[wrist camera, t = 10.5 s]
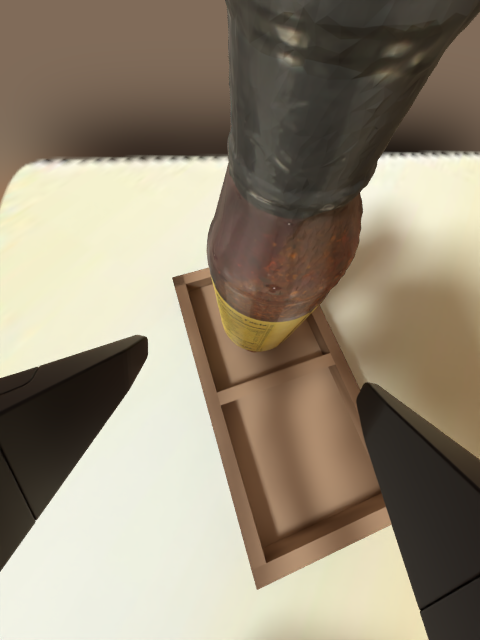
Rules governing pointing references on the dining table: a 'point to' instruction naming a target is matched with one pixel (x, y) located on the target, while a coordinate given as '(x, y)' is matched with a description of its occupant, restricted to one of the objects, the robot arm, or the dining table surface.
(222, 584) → the dining table surface
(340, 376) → the walnut holder
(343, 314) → the dining table surface
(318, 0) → the sauce bottle
